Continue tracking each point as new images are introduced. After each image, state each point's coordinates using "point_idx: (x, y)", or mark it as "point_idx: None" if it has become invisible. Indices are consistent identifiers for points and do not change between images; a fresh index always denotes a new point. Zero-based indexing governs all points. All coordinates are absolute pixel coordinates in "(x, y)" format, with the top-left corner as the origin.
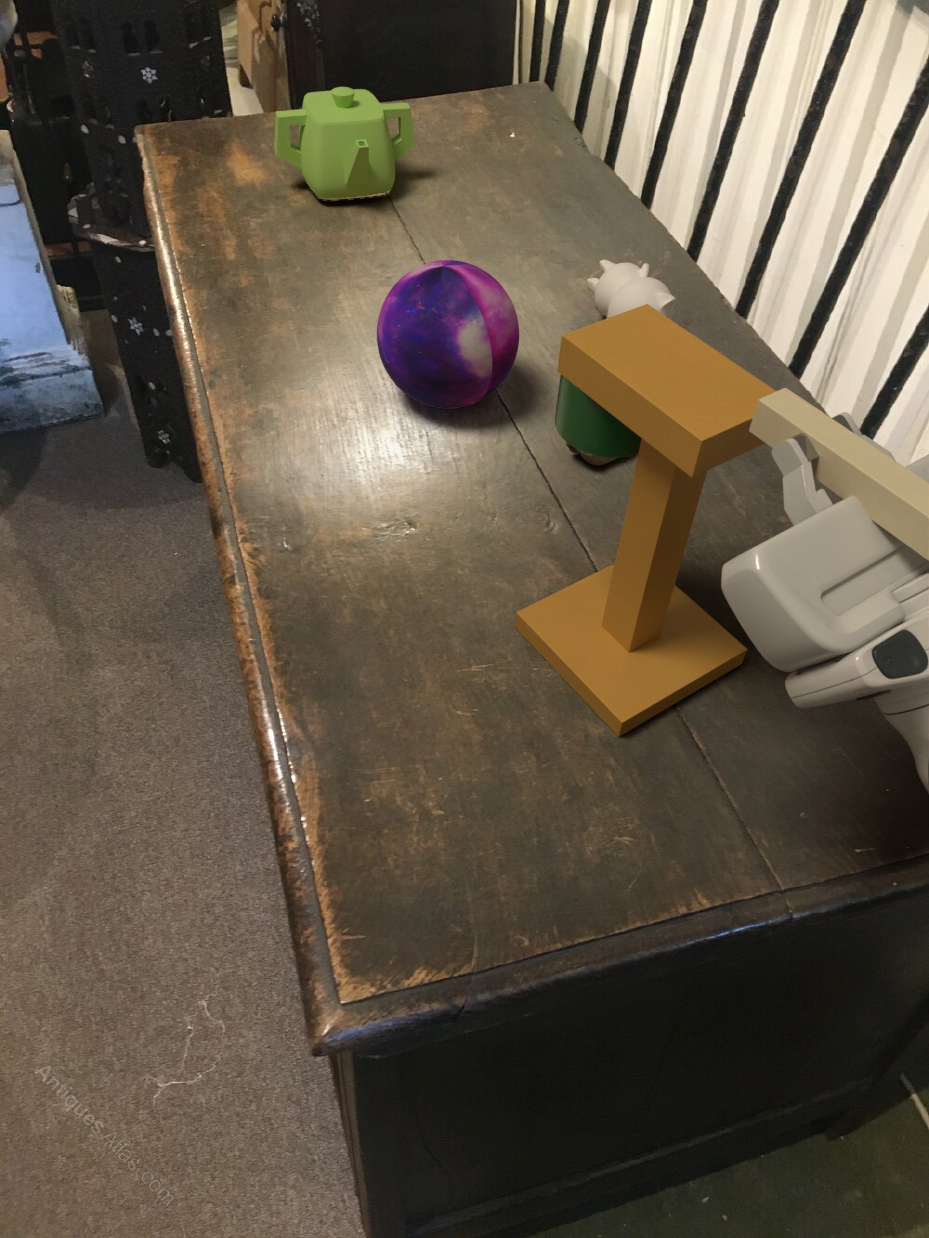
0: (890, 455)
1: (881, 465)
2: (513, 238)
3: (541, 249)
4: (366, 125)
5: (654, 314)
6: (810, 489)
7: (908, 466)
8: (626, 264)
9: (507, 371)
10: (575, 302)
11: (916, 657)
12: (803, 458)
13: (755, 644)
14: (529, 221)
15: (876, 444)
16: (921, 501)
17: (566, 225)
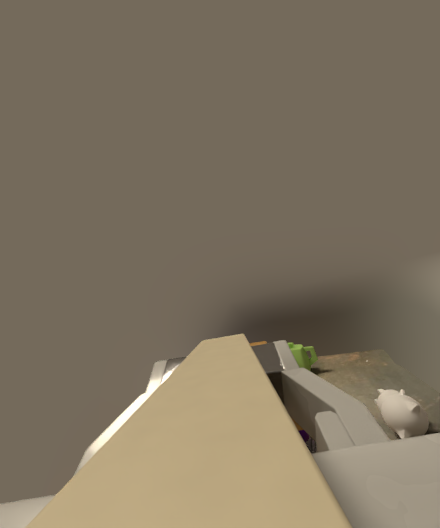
0: (362, 410)
1: (217, 379)
2: (353, 389)
3: (365, 393)
4: (294, 351)
5: (261, 343)
6: (107, 438)
7: (406, 438)
8: (390, 390)
9: (301, 432)
10: (376, 414)
11: None
12: (153, 383)
13: None
14: (363, 384)
15: (327, 385)
16: (112, 510)
17: (381, 385)
